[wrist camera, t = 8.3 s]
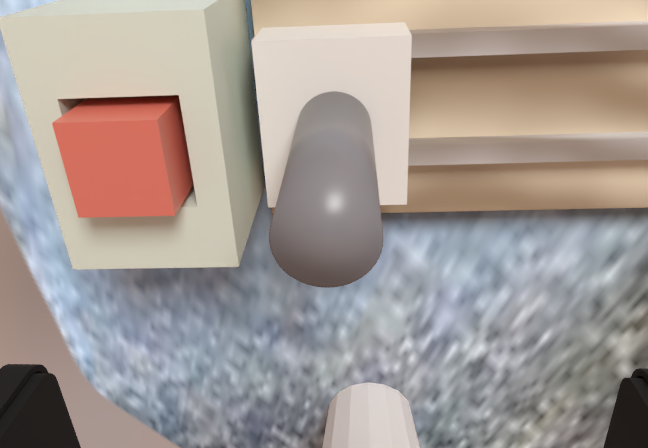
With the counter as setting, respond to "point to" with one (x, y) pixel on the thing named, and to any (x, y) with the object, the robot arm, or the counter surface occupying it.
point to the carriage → (332, 142)
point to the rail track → (512, 98)
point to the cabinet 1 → (148, 80)
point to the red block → (125, 156)
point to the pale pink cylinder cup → (370, 419)
